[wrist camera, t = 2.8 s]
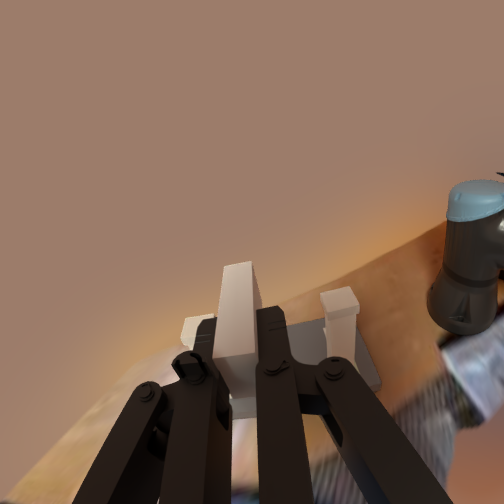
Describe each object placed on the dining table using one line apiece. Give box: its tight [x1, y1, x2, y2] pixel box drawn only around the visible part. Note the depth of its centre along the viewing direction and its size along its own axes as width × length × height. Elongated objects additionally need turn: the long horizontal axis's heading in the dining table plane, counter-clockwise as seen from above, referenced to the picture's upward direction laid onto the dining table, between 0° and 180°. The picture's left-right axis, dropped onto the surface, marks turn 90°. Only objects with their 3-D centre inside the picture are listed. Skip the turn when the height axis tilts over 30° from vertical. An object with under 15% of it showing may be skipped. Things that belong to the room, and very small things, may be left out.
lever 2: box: [320, 286, 360, 366], centre depth 31 cm, size 4×4×13 cm
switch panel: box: [229, 318, 382, 420], centre depth 39 cm, size 26×16×2 cm, turn 91°
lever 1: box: [180, 314, 232, 397], centre depth 32 cm, size 4×4×13 cm
